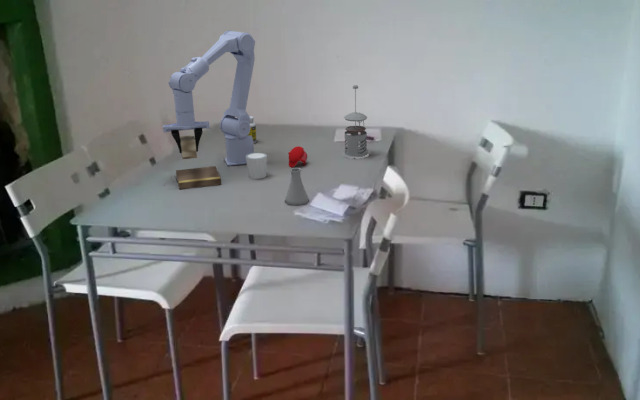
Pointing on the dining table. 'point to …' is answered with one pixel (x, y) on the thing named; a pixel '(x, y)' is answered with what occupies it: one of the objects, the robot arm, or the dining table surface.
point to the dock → (198, 177)
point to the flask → (296, 189)
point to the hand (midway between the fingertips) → (188, 151)
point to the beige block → (188, 147)
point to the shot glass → (256, 165)
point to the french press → (355, 134)
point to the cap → (297, 156)
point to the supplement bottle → (252, 129)
